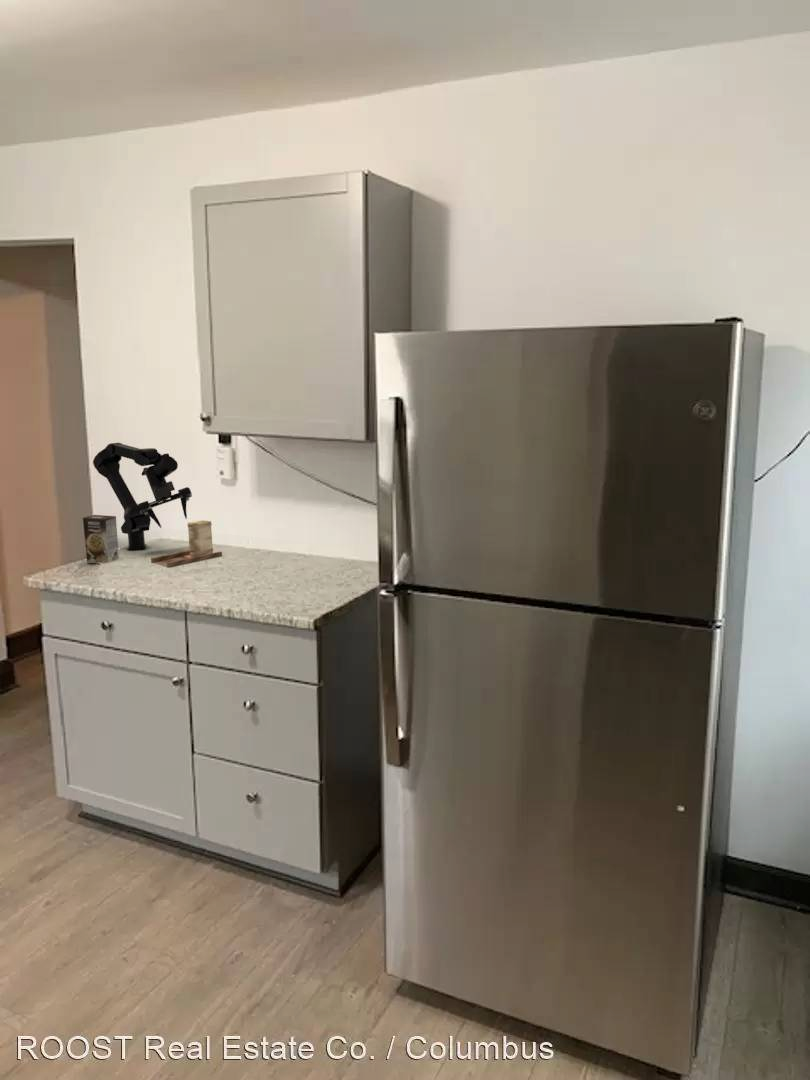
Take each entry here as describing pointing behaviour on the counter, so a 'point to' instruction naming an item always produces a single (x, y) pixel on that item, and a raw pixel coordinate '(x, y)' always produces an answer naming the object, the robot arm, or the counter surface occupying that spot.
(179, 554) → the bay
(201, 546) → the stack of paper
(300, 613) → the counter surface
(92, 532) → the coffee box
